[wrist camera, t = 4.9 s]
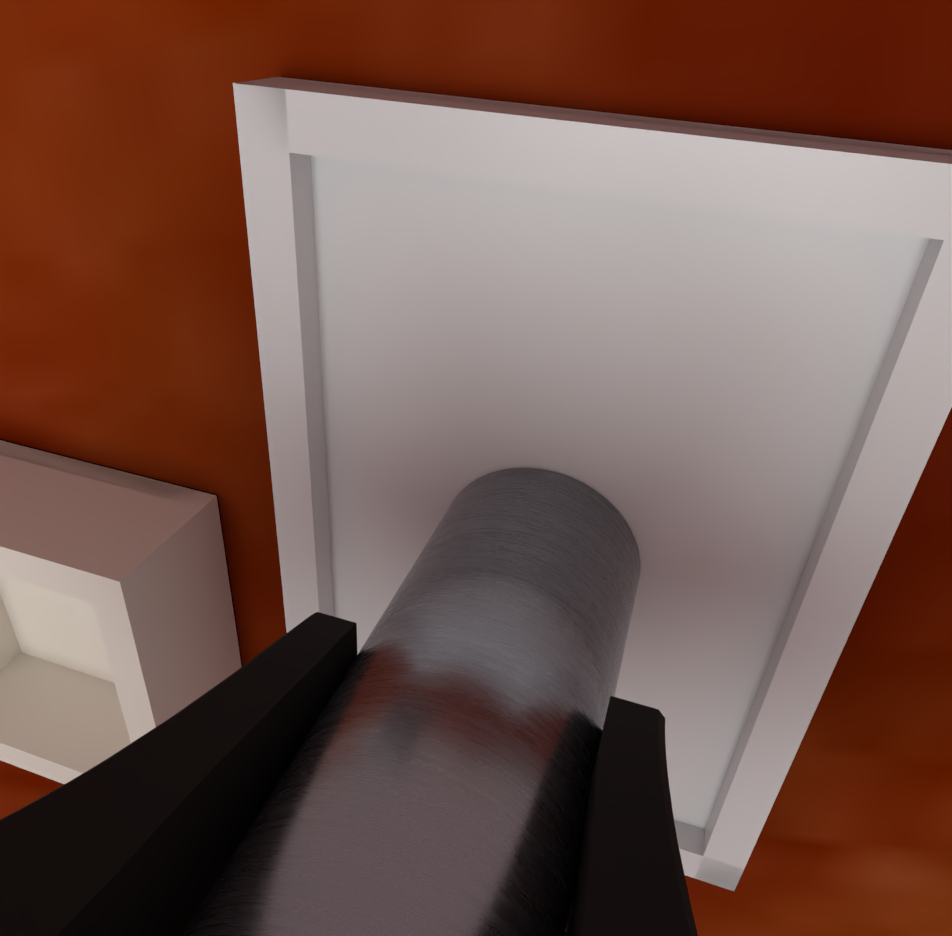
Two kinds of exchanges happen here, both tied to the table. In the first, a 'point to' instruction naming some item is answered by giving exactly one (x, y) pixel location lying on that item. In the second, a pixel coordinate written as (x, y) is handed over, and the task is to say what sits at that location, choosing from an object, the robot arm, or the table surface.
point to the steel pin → (454, 735)
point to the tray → (607, 378)
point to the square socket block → (103, 608)
